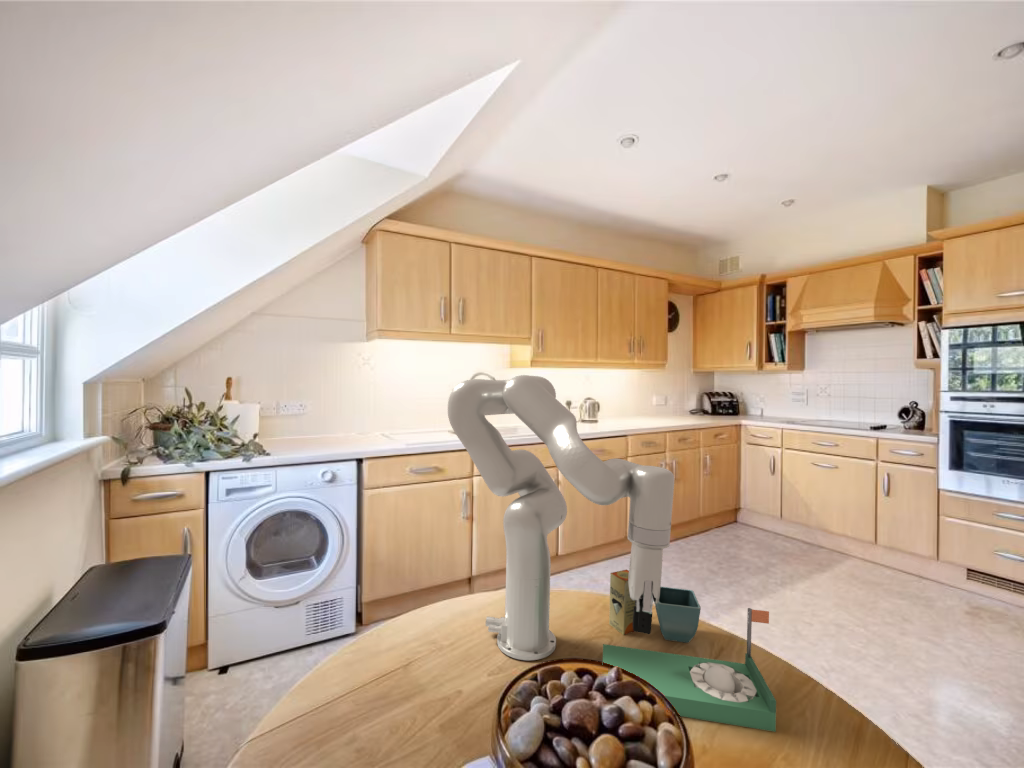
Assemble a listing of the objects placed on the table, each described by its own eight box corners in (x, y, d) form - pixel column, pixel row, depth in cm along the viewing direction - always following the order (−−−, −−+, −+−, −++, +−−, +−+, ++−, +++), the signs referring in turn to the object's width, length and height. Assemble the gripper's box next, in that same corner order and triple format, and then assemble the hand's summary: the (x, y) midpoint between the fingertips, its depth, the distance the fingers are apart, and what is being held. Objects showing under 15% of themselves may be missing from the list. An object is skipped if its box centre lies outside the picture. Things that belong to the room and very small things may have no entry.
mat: (602, 703, 77) (603, 674, 77) (602, 658, 90) (603, 634, 90) (775, 731, 71) (776, 700, 72) (749, 680, 84) (749, 653, 84)
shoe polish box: (623, 635, 99) (624, 581, 99) (609, 624, 103) (610, 572, 103) (640, 630, 101) (641, 577, 101) (625, 619, 105) (626, 569, 105)
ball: (735, 703, 75) (703, 697, 78) (736, 701, 79) (706, 695, 81) (732, 669, 78) (702, 663, 80) (734, 668, 81) (704, 663, 84)
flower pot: (700, 650, 94) (701, 608, 94) (657, 644, 95) (658, 602, 95) (692, 628, 102) (693, 589, 102) (652, 623, 104) (653, 585, 104)
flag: (746, 684, 83) (748, 609, 83) (745, 681, 84) (747, 607, 84) (768, 687, 82) (769, 611, 82) (766, 684, 83) (768, 610, 83)
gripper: (625, 518, 90) (619, 607, 91) (630, 545, 76) (622, 650, 76) (664, 523, 89) (657, 613, 89) (676, 551, 74) (668, 659, 74)
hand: (641, 630), depth 82 cm, fingers closed
